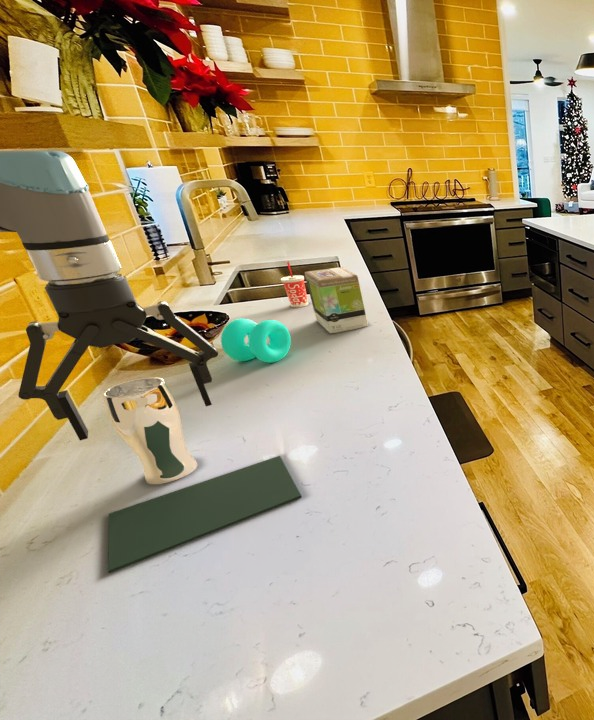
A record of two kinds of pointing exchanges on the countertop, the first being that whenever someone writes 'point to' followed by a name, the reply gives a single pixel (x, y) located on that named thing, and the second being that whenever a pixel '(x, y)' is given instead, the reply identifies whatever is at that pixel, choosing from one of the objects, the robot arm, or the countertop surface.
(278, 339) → the donuts
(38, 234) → the robot arm
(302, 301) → the beverage cup
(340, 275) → the tea box
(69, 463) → the countertop surface
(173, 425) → the beer glass
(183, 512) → the mat
